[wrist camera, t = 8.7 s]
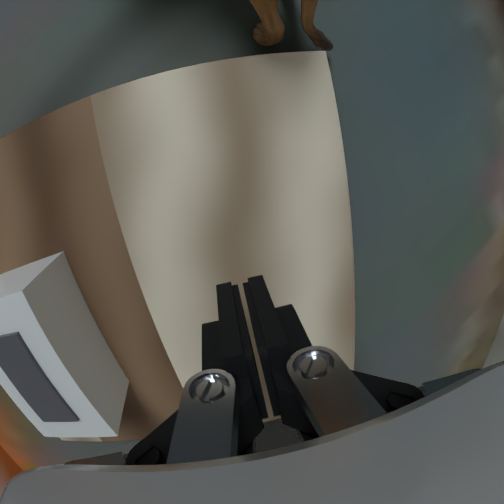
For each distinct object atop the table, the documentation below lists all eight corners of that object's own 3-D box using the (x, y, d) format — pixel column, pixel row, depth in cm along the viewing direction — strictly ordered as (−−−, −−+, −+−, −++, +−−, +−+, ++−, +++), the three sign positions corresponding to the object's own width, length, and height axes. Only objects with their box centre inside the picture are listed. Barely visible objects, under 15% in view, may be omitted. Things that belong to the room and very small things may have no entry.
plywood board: (313, 58, 12) (325, 50, 11) (344, 382, 19) (352, 396, 18) (-54, 181, 10) (-68, 186, 9) (66, 426, 18) (62, 440, 16)
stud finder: (63, 251, 12) (19, 293, 8) (129, 381, 15) (117, 439, 11) (-3, 275, 12) (-46, 314, 8) (63, 389, 15) (43, 439, 11)
